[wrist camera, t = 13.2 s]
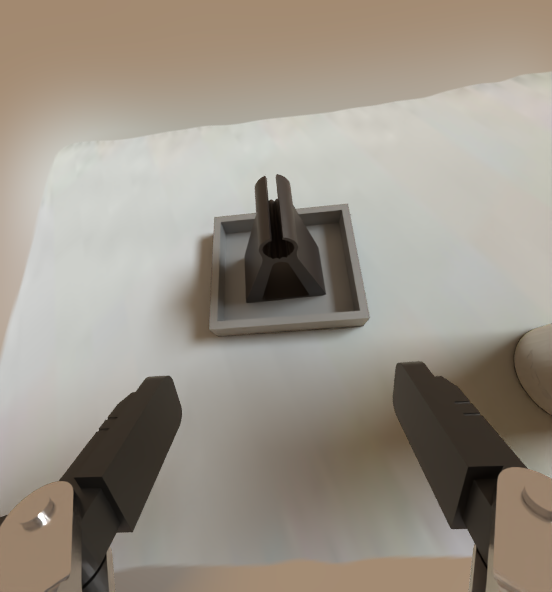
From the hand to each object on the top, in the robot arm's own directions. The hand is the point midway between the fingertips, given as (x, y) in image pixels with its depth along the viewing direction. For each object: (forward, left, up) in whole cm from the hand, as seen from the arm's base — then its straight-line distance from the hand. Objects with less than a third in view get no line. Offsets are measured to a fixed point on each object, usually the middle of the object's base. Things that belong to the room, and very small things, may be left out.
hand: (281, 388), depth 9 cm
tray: (0, -14, -18) cm, 23 cm away
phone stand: (0, -13, -18) cm, 22 cm away
